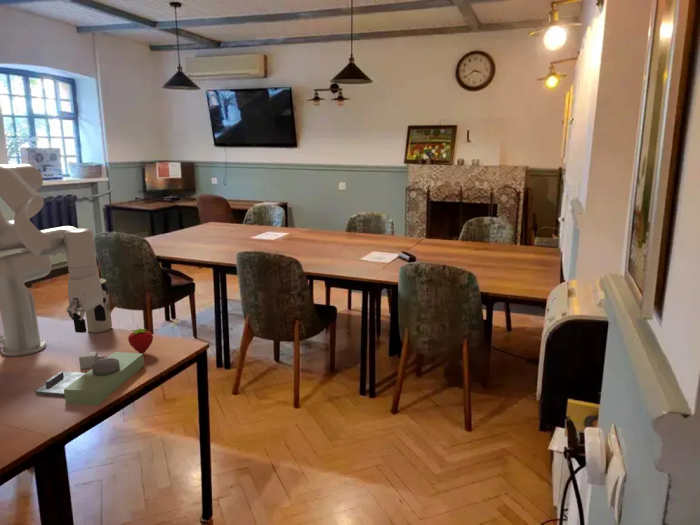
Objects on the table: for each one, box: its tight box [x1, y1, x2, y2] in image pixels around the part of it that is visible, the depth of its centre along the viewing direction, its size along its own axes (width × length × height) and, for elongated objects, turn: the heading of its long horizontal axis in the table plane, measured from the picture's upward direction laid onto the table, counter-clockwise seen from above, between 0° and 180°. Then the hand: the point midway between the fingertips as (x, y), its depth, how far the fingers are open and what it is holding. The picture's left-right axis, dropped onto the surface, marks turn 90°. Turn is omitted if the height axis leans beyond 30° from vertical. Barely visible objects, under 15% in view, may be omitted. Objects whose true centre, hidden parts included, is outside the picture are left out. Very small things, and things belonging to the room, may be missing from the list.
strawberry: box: [127, 327, 154, 355], centre depth 166 cm, size 6×8×10 cm
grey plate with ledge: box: [34, 371, 86, 398], centre depth 146 cm, size 10×12×2 cm
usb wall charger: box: [78, 351, 108, 370], centre depth 158 cm, size 4×7×4 cm, turn 105°
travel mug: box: [85, 278, 113, 334], centre depth 185 cm, size 8×8×18 cm
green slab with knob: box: [64, 351, 145, 406], centre depth 147 cm, size 9×24×6 cm, turn 173°
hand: (91, 326), depth 155 cm, fingers open, 9 cm apart
